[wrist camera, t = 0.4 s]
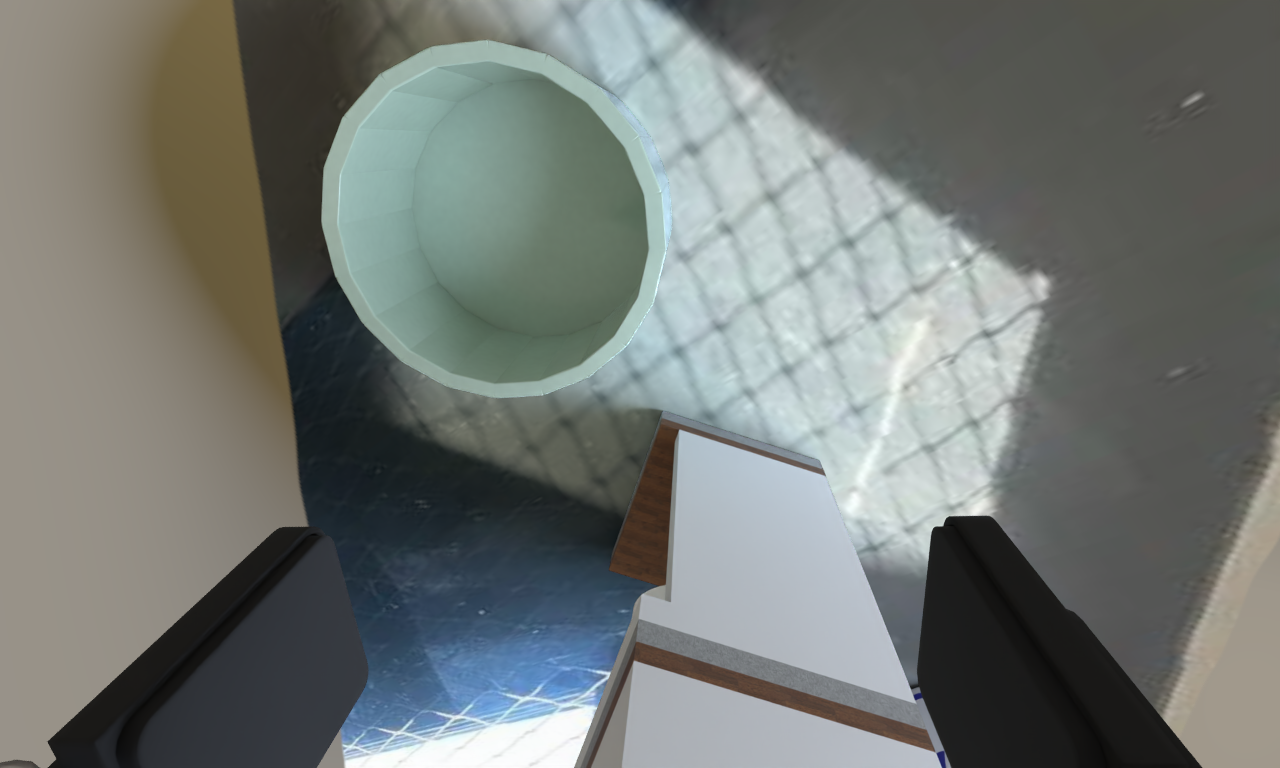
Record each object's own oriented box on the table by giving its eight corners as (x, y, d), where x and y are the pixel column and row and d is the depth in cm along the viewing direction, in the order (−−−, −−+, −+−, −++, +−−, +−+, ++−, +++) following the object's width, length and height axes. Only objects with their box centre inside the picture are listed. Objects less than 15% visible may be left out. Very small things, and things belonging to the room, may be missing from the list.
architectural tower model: (662, 410, 41) (539, 1478, 8) (819, 460, 41) (1301, 1672, 9) (612, 552, 45) (395, 1641, 12) (755, 596, 45) (916, 1769, 13)
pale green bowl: (378, 82, 35) (279, 64, 27) (659, 50, 34) (648, 19, 25) (435, 352, 41) (368, 406, 32) (681, 335, 39) (677, 388, 31)
